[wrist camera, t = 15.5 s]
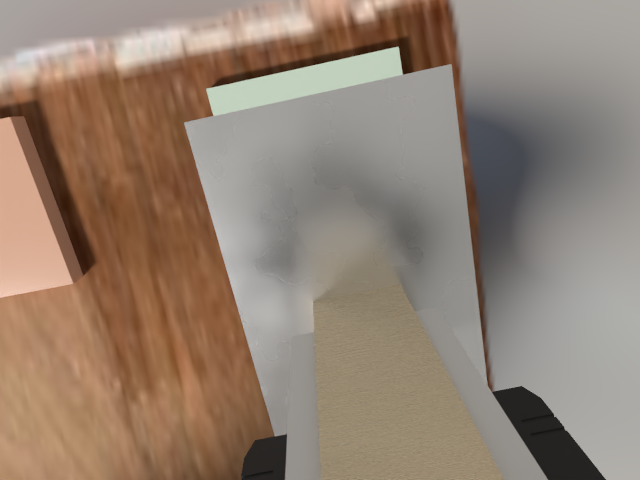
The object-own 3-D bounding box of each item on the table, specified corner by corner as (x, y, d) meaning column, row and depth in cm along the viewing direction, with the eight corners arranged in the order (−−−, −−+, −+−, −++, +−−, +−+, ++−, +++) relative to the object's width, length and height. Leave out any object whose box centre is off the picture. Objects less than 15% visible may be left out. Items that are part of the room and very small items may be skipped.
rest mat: (434, 310, 37) (437, 315, 36) (276, 342, 37) (276, 348, 36) (395, 48, 31) (398, 46, 30) (209, 89, 31) (206, 89, 30)
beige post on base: (489, 469, 19) (680, 848, 9) (301, 505, 19) (299, 912, 10) (441, 66, 14) (729, -5, 5) (191, 121, 14) (-30, 163, 5)
